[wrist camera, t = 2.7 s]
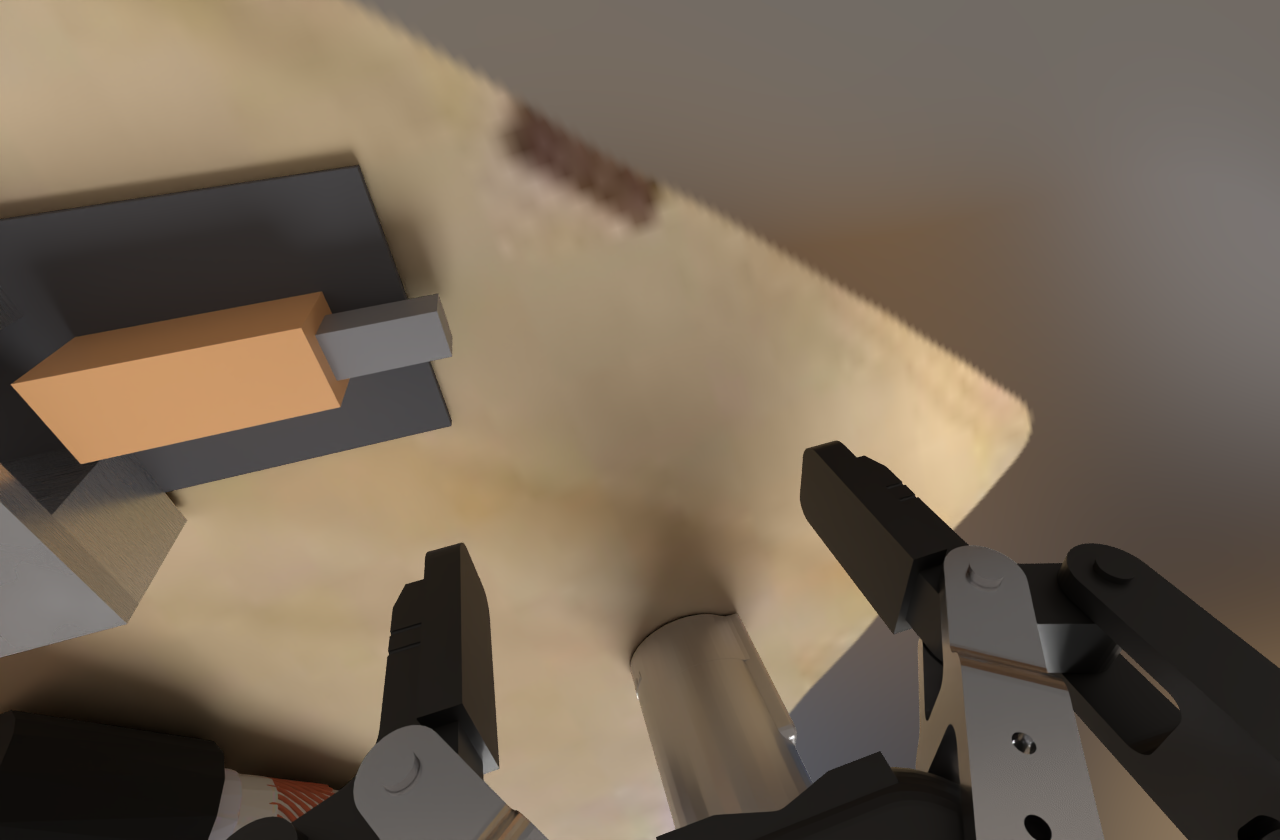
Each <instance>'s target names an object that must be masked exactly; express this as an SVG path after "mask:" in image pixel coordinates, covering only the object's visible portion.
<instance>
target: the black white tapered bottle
mask: <svg viewBox="0 0 1280 840" xmlns="http://www.w3.org/2000/svg"><path fill="white" fill-rule="evenodd" d="M328 786H329V785H326V784H319V783H312V782H302V781H292V780H286V779H278V778H269V777H265V776H256V775H248V774H239V773H237V771H234V770H231V769H227V768H225V767H224V753H223V751H222V750H221V749H220V748H219V747H218V746H217V745H216V744H215V742H214V741H208V740H202V739H195V738H189V737H182V736H176V735H169V734H163V733H156V732H150V731H143V730H137V729H130V728H123V727H117V726H110V725H104V724H97V723H91V722H84V721H78V720H71V719H65V718H58V717H52V716H45V715H38V714H32V713H25V712H19V711H12V710H11V711H8V712H5V713H2V714H0V840H226V839H227V838H228V837H230V836H231V835H232V834H233V833H235V832H236V831H237V830H239V829H240V828H242V827H243V826H245V825H247V824H249V823H251V822H253V821H255V820H258V819H261V818H264V817H272V816H274V817H281V818H284V819H286V820H287V821H289V822H290V823H291V822H293V821H294V820H296V819H297V818H299V817H300V816H302V815H303V814H305V813H306V812H308V811H309V810H311V809H312V808H314V807H315V806H317V805H318V804H320V803H321V802H323V801H324V800H326V799H327V798H329V797H330V796H332V795H333V794H335V793H336V792H338V791H339V790H333V788H330V787H328Z"/></svg>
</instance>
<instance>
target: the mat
mask: <svg viewBox="0 0 1280 840" xmlns="http://www.w3.org/2000/svg"><path fill="white" fill-rule="evenodd" d="M0 287H1V288H2V289H3V290H4V292H5V293H6V294H7V295H8V297H9V298H10V299H11V300H12V302H13V303H14V304H15V305H16V307H17V308H18V309H19V310H20V312H21V313H22V314H23V315H24V316H23V317H22V318H20V319H18V320H17V321H15V322H13V323H12V324H10V325H8V326H7V327H5V328H3V329H2V330H0V463H2V462H6V461H11V460H16V459H20V458H25V457H30V456H34V455H39V454H44V453H48V452H53V451H58V450H62V449H67V448H66V447H65V446H64V444H63V443H62V442H61V441H60V440H59V439H58V438H57V436H56V435H55V434H54V433H53V432H52V431H51V430H50V429H49V427H48V426H47V425H46V424H45V423H44V422H43V421H42V419H41V418H40V417H39V416H38V415H37V414H36V413H35V411H34V410H33V409H32V408H31V407H30V406H29V405H28V404H27V402H26V401H25V400H24V399H23V398H22V397H21V396H20V394H19V393H18V392H17V391H16V390H15V389H14V388H13V386H12V385H11V384H12V383H13V382H15V381H16V380H17V379H19V378H20V377H21V376H23V375H24V374H26V373H27V372H28V371H30V370H31V369H32V368H34V367H35V366H36V365H38V364H39V363H40V362H42V361H43V360H45V359H46V358H47V357H49V356H50V355H51V354H53V353H54V352H55V351H57V350H58V349H60V348H61V347H62V346H64V345H65V344H66V343H68V342H69V341H70V340H72V339H73V338H74V337H79V336H84V335H89V334H95V333H100V332H105V331H111V330H116V329H122V328H127V327H132V326H138V325H143V324H149V323H154V322H159V321H165V320H170V319H176V318H181V317H186V316H192V315H197V314H202V313H208V312H213V311H219V310H224V309H229V308H235V307H240V306H246V305H251V304H256V303H262V302H267V301H273V300H278V299H283V298H289V297H294V296H299V295H305V294H310V293H316V292H321V291H322V292H323V295H324V297H325V299H326V301H327V303H328V306H329V308H330V310H331V312H332V314H334V313H340V312H345V311H350V310H355V309H360V308H366V307H371V306H376V305H381V304H386V303H392V302H397V301H402V300H407V296H406V293H405V291H404V288H403V285H402V282H401V280H400V277H399V274H398V271H397V269H396V266H395V263H394V260H393V258H392V255H391V252H390V249H389V247H388V244H387V241H386V238H385V236H384V233H383V230H382V227H381V224H380V222H379V219H378V216H377V213H376V211H375V208H374V205H373V202H372V200H371V197H370V194H369V191H368V189H367V186H366V183H365V180H364V178H363V175H362V172H361V169H360V167H359V165H356V166H349V167H342V168H336V169H329V170H322V171H316V172H309V173H303V174H296V175H289V176H283V177H276V178H269V179H263V180H256V181H250V182H243V183H236V184H230V185H223V186H217V187H210V188H203V189H197V190H190V191H183V192H177V193H170V194H164V195H157V196H150V197H144V198H137V199H130V200H124V201H117V202H111V203H104V204H97V205H91V206H84V207H78V208H71V209H64V210H58V211H51V212H44V213H38V214H31V215H25V216H18V217H11V218H5V219H0ZM451 423H452V420H451V418H450V415H449V412H448V409H447V407H446V404H445V401H444V398H443V396H442V393H441V390H440V387H439V385H438V382H437V379H436V376H435V374H434V371H433V368H432V365H431V362H430V361H428V362H424V363H419V364H414V365H410V366H405V367H400V368H395V369H391V370H386V371H381V372H377V373H372V374H367V375H362V376H358V377H353V378H350V379H349V383H348V386H347V389H346V392H345V395H344V398H343V401H342V404H341V407H339V408H334V409H330V410H325V411H320V412H316V413H311V414H307V415H302V416H298V417H293V418H289V419H284V420H280V421H275V422H270V423H266V424H261V425H257V426H252V427H248V428H243V429H239V430H234V431H229V432H225V433H220V434H216V435H211V436H207V437H202V438H198V439H193V440H189V441H184V442H179V443H175V444H170V445H166V446H161V447H157V448H152V449H148V450H143V451H138V452H134V454H135V456H136V457H137V458H138V459H139V461H140V462H141V463H142V464H143V466H144V467H145V468H146V469H147V471H148V472H149V473H150V474H151V476H152V477H153V478H154V479H155V481H156V482H157V483H158V484H159V486H160V487H161V488H162V489H163V491H164V492H169V491H173V490H178V489H182V488H186V487H191V486H195V485H199V484H203V483H208V482H212V481H216V480H221V479H225V478H229V477H234V476H238V475H242V474H246V473H251V472H255V471H259V470H264V469H268V468H272V467H277V466H281V465H285V464H289V463H294V462H298V461H302V460H307V459H311V458H315V457H320V456H324V455H328V454H332V453H337V452H341V451H345V450H350V449H354V448H358V447H363V446H367V445H371V444H375V443H380V442H384V441H388V440H393V439H397V438H401V437H406V436H410V435H414V434H418V433H423V432H427V431H431V430H436V429H440V428H444V427H449V426H451Z"/></svg>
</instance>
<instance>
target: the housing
mask: <svg viewBox="0 0 1280 840" xmlns="http://www.w3.org/2000/svg"><path fill="white" fill-rule="evenodd" d="M23 316H24V315H23V314H22V313H21V312H20V310H19V309H18V308H17V307H16V305H15V304H14V303H13V302H12V300H11V299H10V298H9V297H8V295H7V294H6V293H5V292H4V290H3V289H2V288H1V287H0V330H2V329H3V328H5V327H7V326H8V325H10V324H12V323H13V322H15V321H17V320H18V319H20V318H22V317H23ZM186 521H187V520H186V518H185V517H184V516H183V515H182V513H181V512H180V511H179V510H178V508H177V507H176V506H175V505H174V503H173V502H172V501H171V500H170V498H169V497H168V496H167V494H166V493H165V492H164V491H163V489H162V488H161V487H160V486H159V484H158V483H157V482H156V481H155V479H154V478H153V477H152V476H151V474H150V473H149V472H148V471H147V469H146V468H145V467H144V466H143V464H142V463H141V462H140V461H139V459H138V458H137V457H136V456H135V454H134V453H129V454H125V455H120V456H116V457H111V458H107V459H102V460H98V461H93V462H88V463H84V464H80V463H79V461H78V460H77V459H76V458H75V457H74V456H73V455H72V454H71V452H70V451H69V450H68V449H62V450H58V451H53V452H48V453H44V454H39V455H34V456H30V457H25V458H20V459H16V460H11V461H6V462H2V463H0V657H4V656H8V655H12V654H16V653H19V652H23V651H27V650H31V649H34V648H38V647H42V646H46V645H49V644H53V643H57V642H61V641H64V640H68V639H72V638H76V637H80V636H83V635H87V634H91V633H95V632H98V631H102V630H106V629H110V628H113V627H117V626H121V625H125V624H127V623H128V621H129V620H130V618H131V616H132V614H133V613H134V611H135V609H136V608H137V606H138V604H139V602H140V601H141V599H142V597H143V596H144V594H145V592H146V590H147V589H148V587H149V585H150V583H151V582H152V580H153V578H154V577H155V575H156V573H157V571H158V570H159V568H160V566H161V564H162V563H163V561H164V559H165V558H166V556H167V554H168V552H169V551H170V549H171V547H172V546H173V544H174V542H175V540H176V539H177V537H178V535H179V533H180V532H181V530H182V528H183V527H184V525H185V523H186Z"/></svg>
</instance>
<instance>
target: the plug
mask: <svg viewBox="0 0 1280 840" xmlns="http://www.w3.org/2000/svg"><path fill="white" fill-rule="evenodd" d="M447 357H452V334H451V331H450V328H449V325H448V322H447V319H446V316H445V313H444V309H443V306H442V303H441V300H440V297H439V294H433V295H428V296H423V297H418V298H412V299H407V300H402V301H397V302H392V303H386V304H381V305H376V306H371V307H366V308H360V309H355V310H350V311H345V312H340V313H334V314H332V312H331V310H330V308H329V306H328V303H327V301H326V299H325V297H324V295H323V292H322V291H321V292H316V293H310V294H305V295H299V296H294V297H289V298H283V299H278V300H273V301H267V302H262V303H256V304H251V305H246V306H240V307H235V308H229V309H224V310H219V311H213V312H208V313H202V314H197V315H192V316H186V317H181V318H176V319H170V320H165V321H159V322H154V323H149V324H143V325H138V326H132V327H127V328H122V329H116V330H111V331H105V332H100V333H95V334H89V335H84V336H79V337H74V338H73V339H72V340H70V341H69V342H68V343H66V344H65V345H64V346H62V347H61V348H60V349H58V350H57V351H55V352H54V353H53V354H51V355H50V356H49V357H47V358H46V359H45V360H43V361H42V362H40V363H39V364H38V365H36V366H35V367H34V368H32V369H31V370H30V371H28V372H27V373H26V374H24V375H23V376H21V377H20V378H19V379H17V380H16V381H15V382H13V383H12V384H11V385H12V386H13V388H14V389H15V390H16V391H17V392H18V393H19V394H20V396H21V397H22V398H23V399H24V400H25V401H26V402H27V404H28V405H29V406H30V407H31V408H32V409H33V410H34V411H35V413H36V414H37V415H38V416H39V417H40V418H41V419H42V421H43V422H44V423H45V424H46V425H47V426H48V427H49V429H50V430H51V431H52V432H53V433H54V434H55V435H56V436H57V438H58V439H59V440H60V441H61V442H62V443H63V444H64V446H65V447H66V448H67V449H68V450H69V451H70V452H71V454H72V455H73V456H74V457H75V458H76V459H77V460H78V461H79V463H80V464H84V463H88V462H93V461H98V460H102V459H107V458H111V457H116V456H120V455H125V454H129V453H134V452H138V451H143V450H148V449H152V448H157V447H161V446H166V445H170V444H175V443H179V442H184V441H189V440H193V439H198V438H202V437H207V436H211V435H216V434H220V433H225V432H229V431H234V430H239V429H243V428H248V427H252V426H257V425H261V424H266V423H270V422H275V421H280V420H284V419H289V418H293V417H298V416H302V415H307V414H311V413H316V412H320V411H325V410H330V409H334V408H339V407H341V404H342V401H343V398H344V395H345V392H346V389H347V386H348V383H349V379H350V378H353V377H358V376H362V375H367V374H372V373H377V372H381V371H386V370H391V369H395V368H400V367H405V366H410V365H414V364H419V363H424V362H428V361H433V360H438V359H443V358H447Z"/></svg>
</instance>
